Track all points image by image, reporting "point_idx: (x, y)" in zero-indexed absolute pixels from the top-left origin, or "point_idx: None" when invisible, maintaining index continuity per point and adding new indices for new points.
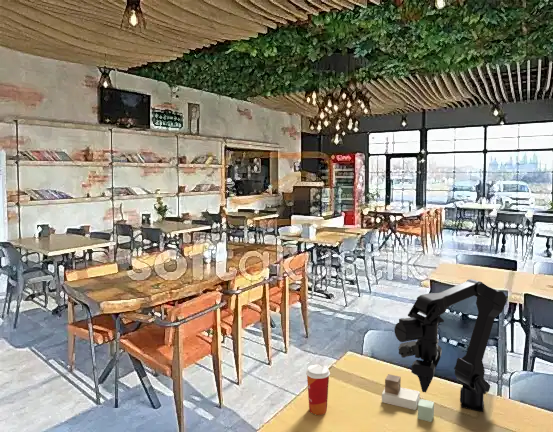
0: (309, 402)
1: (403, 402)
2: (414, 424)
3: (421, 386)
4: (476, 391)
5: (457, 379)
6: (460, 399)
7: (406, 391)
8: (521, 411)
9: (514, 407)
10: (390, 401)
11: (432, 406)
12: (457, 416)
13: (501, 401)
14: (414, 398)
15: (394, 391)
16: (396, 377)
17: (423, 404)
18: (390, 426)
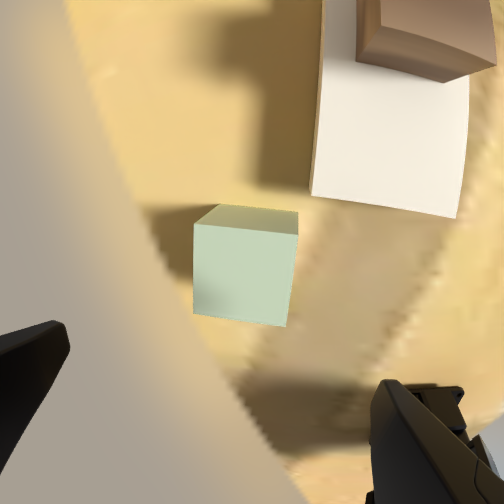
0: None
1: (317, 109)
2: (157, 194)
3: (3, 340)
4: (367, 501)
5: (482, 445)
6: (424, 399)
7: (431, 125)
8: None
9: None
10: (321, 33)
11: (218, 316)
12: (314, 377)
13: None
14: (350, 183)
15: (360, 33)
16: (466, 23)
17: (218, 261)
18: (99, 92)
